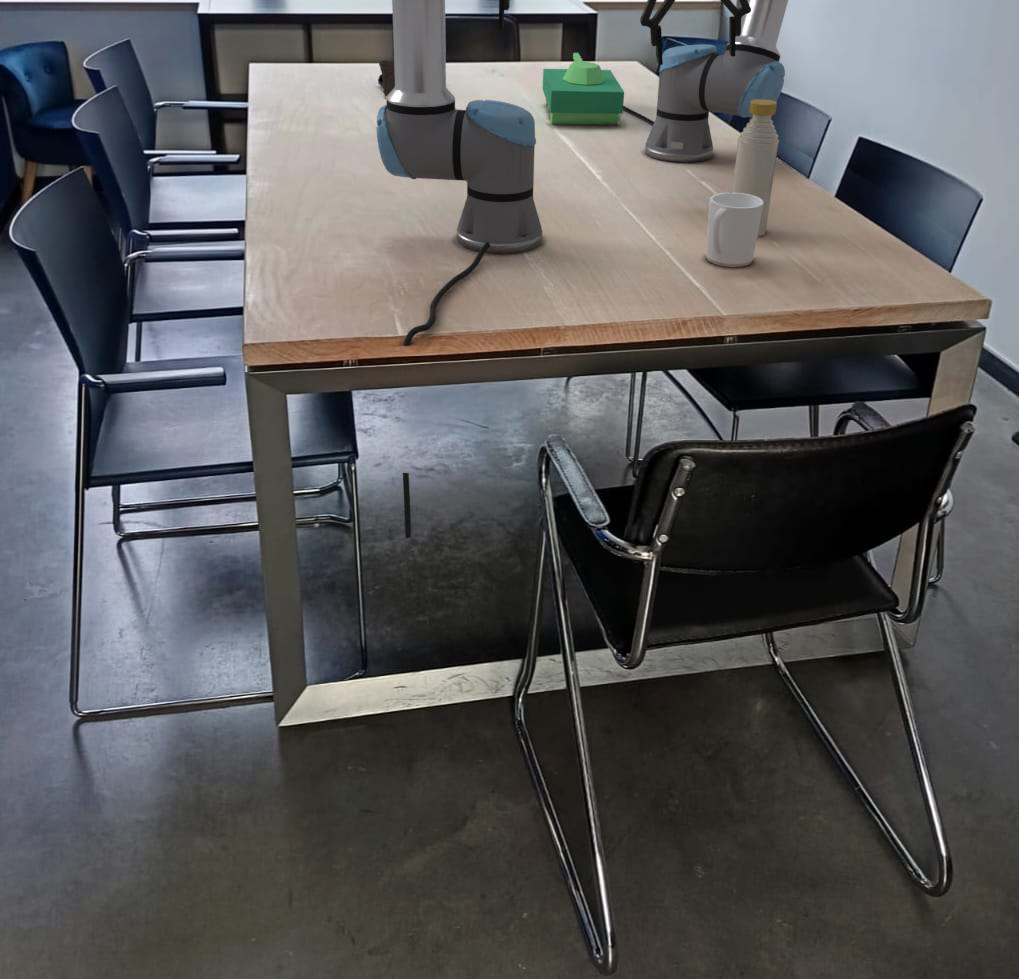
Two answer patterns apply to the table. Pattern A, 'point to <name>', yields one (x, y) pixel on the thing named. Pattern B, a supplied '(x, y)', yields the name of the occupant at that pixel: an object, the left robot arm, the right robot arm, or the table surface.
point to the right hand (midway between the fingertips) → (696, 59)
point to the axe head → (387, 76)
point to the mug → (733, 228)
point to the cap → (763, 107)
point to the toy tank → (583, 94)
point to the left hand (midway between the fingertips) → (468, 26)
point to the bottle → (757, 163)
